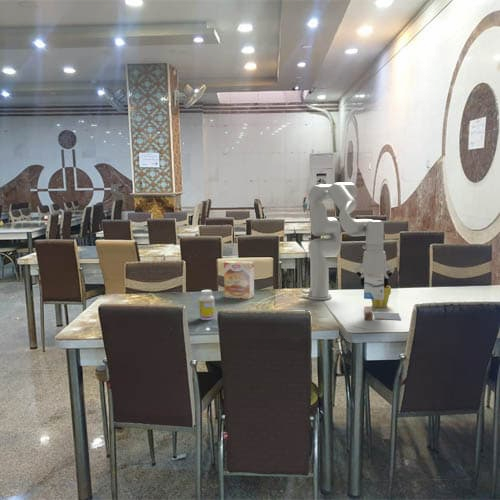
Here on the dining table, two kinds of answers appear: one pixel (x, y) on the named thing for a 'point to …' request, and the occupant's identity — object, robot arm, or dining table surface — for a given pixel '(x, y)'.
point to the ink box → (374, 286)
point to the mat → (387, 316)
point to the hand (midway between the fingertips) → (374, 286)
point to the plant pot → (383, 302)
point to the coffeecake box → (239, 279)
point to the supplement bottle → (207, 305)
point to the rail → (368, 313)
